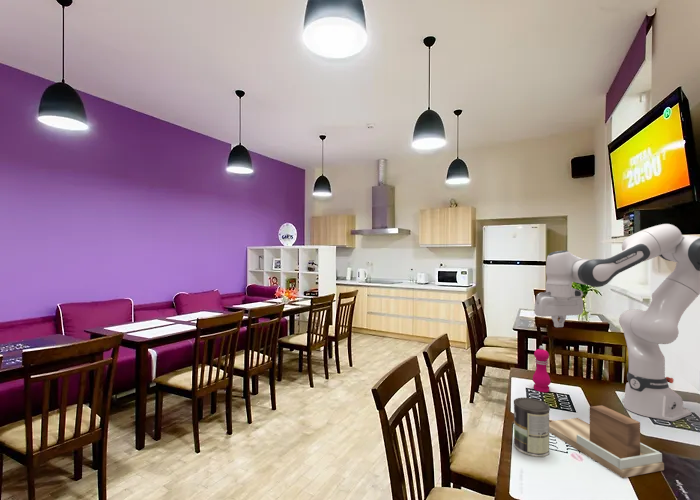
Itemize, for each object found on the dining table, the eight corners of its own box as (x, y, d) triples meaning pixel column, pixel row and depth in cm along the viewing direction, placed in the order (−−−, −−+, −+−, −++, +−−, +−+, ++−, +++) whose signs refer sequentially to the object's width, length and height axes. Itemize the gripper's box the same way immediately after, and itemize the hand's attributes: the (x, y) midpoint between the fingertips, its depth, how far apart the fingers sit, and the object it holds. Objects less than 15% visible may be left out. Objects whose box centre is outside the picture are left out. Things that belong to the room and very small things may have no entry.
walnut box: (602, 439, 116) (602, 405, 116) (640, 460, 104) (640, 422, 104) (589, 441, 115) (589, 406, 115) (626, 462, 103) (626, 424, 103)
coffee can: (509, 449, 114) (509, 404, 114) (518, 436, 122) (518, 394, 122) (546, 461, 107) (546, 414, 107) (552, 446, 115) (552, 402, 115)
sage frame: (614, 436, 118) (614, 429, 118) (662, 462, 104) (662, 453, 104) (576, 442, 114) (576, 434, 114) (621, 469, 100) (621, 460, 100)
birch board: (577, 423, 131) (577, 417, 131) (664, 470, 103) (663, 463, 103) (542, 428, 128) (542, 422, 128) (622, 477, 99) (622, 470, 99)
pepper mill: (553, 393, 159) (552, 348, 159) (535, 392, 160) (535, 347, 160) (547, 387, 166) (547, 344, 166) (530, 386, 167) (530, 343, 167)
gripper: (542, 293, 136) (542, 329, 136) (586, 292, 141) (586, 327, 141) (530, 291, 142) (530, 326, 142) (572, 290, 147) (572, 324, 147)
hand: (558, 326), depth 141 cm, fingers closed
